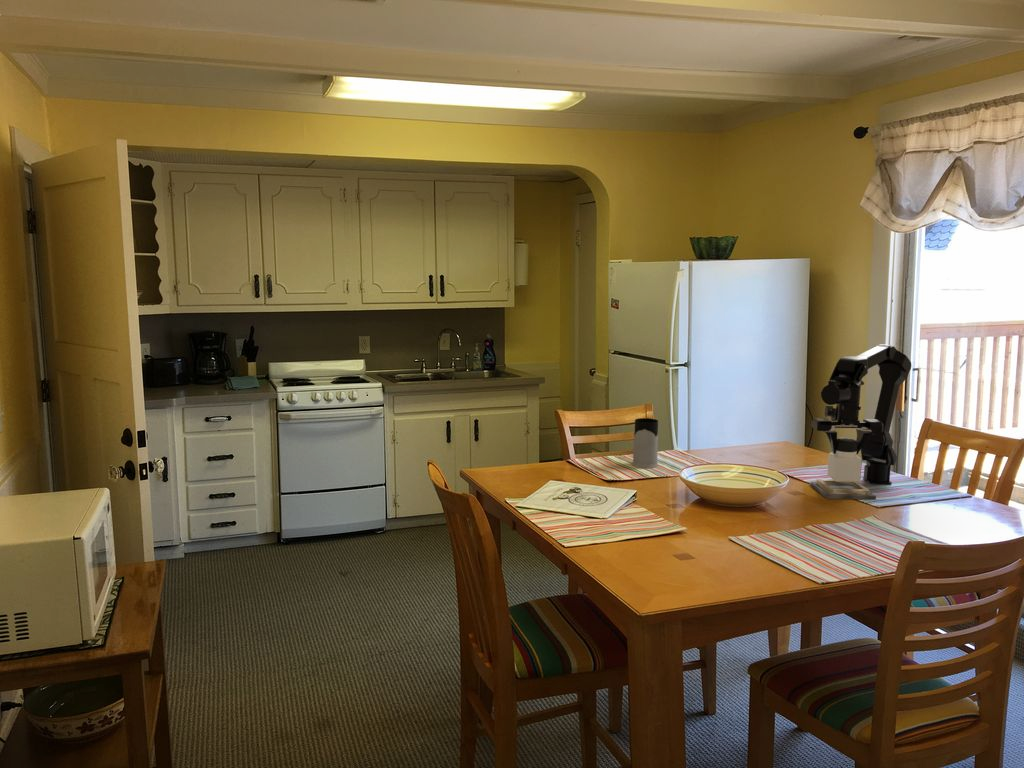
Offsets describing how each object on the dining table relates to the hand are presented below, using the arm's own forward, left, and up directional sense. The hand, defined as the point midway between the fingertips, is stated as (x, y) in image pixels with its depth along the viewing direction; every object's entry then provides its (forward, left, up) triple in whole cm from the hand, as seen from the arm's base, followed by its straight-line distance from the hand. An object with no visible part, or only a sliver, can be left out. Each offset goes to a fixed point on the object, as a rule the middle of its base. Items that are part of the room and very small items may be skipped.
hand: (845, 453), depth 240 cm
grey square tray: (0, 0, -12) cm, 12 cm away
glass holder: (+54, -30, -12) cm, 63 cm away
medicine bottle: (0, 0, -8) cm, 8 cm away
